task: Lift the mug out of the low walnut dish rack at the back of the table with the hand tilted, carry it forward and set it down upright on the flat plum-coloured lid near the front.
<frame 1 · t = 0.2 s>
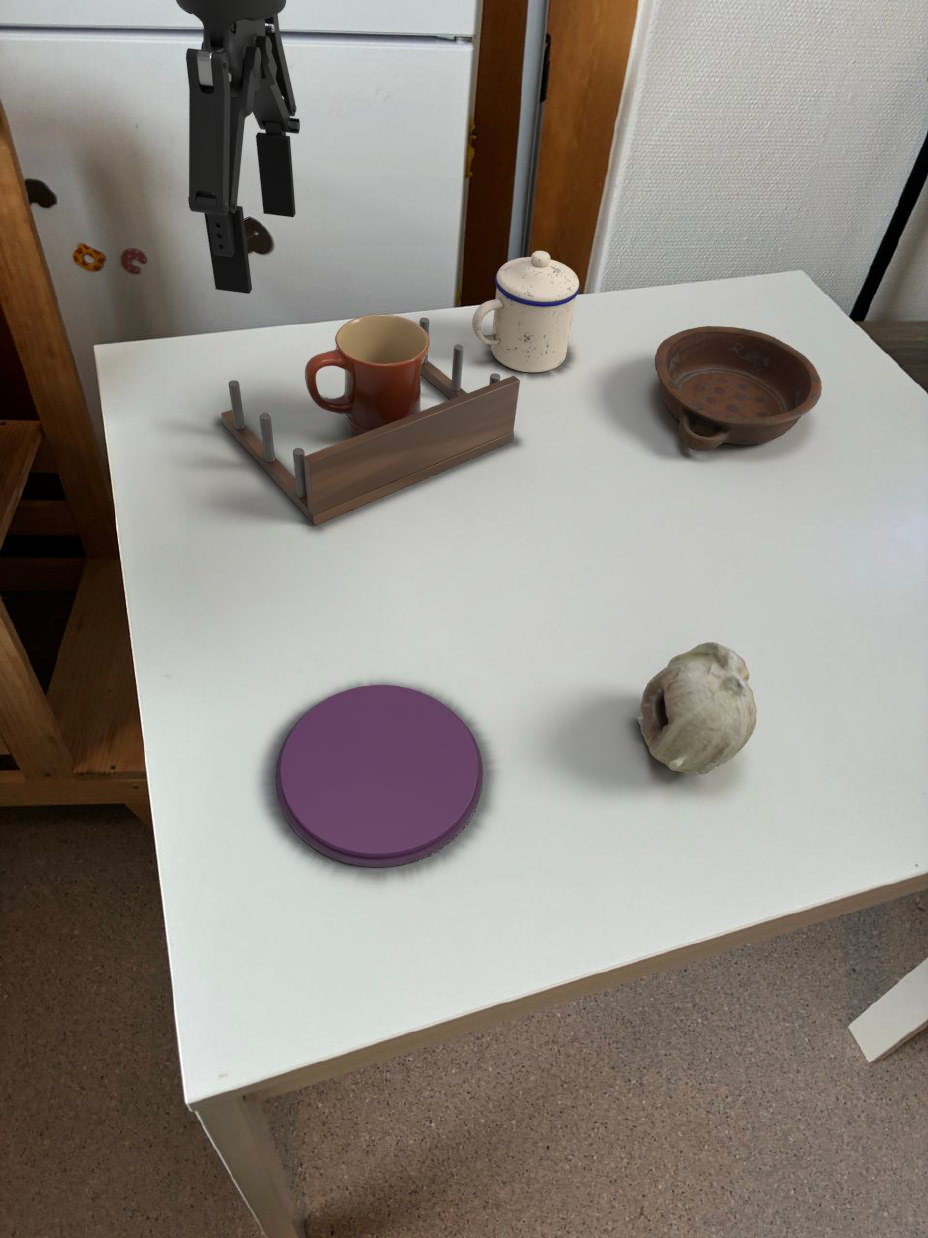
hand: (258, 249, 75), 19 cm above the table, tool pointing down, fingers open, 13 cm apart
mug: (368, 433, 91), on the table
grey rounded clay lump: (681, 747, 68), on the table
dish rack: (368, 431, 91), on the table
plum lid: (380, 772, 65), on the table
teacup with lid: (516, 356, 102), on the table
dish: (724, 410, 98), on the table
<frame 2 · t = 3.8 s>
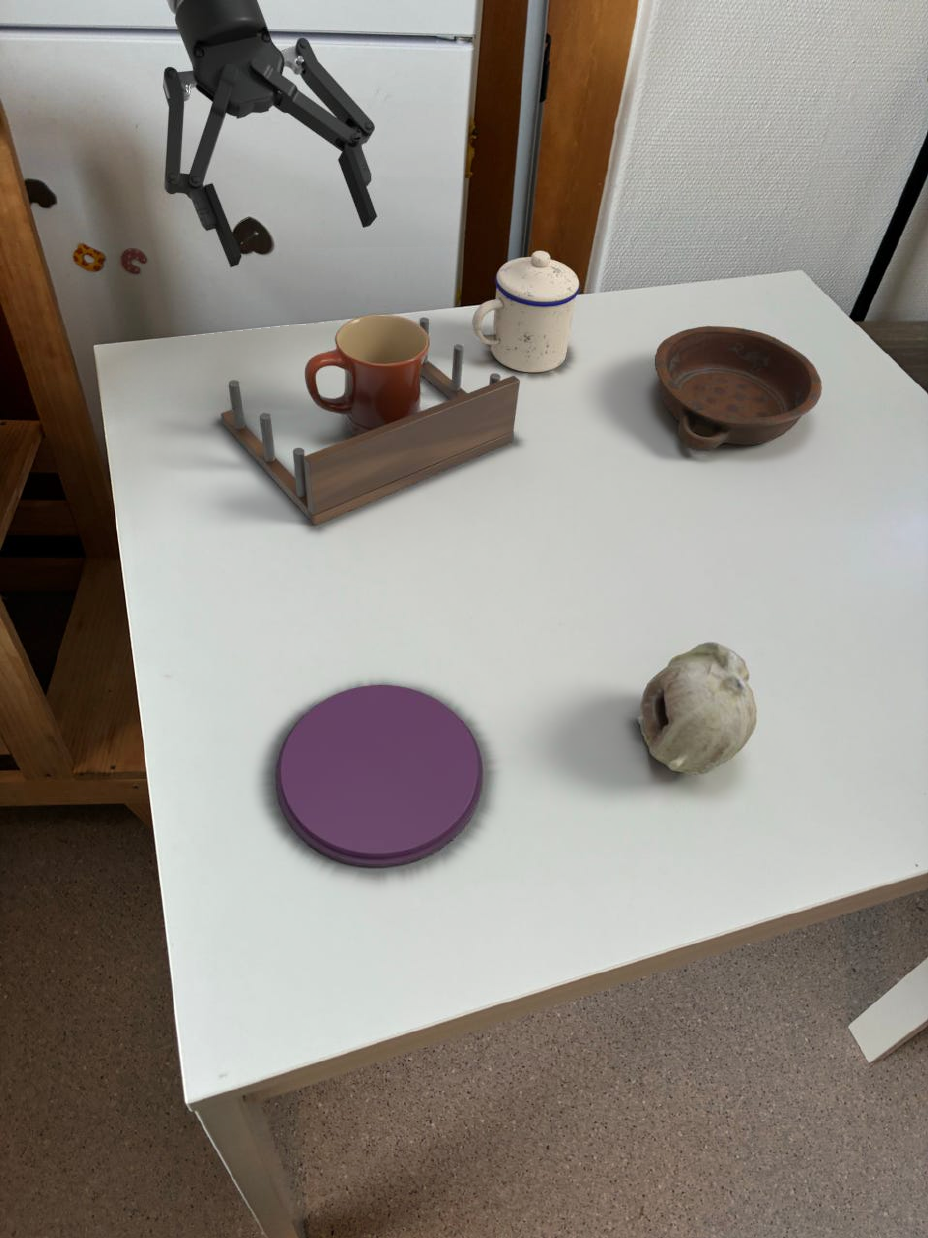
hand: (304, 241, 84), 16 cm above the table, tool tilted 45°, fingers open, 13 cm apart
nothing on the table moved.
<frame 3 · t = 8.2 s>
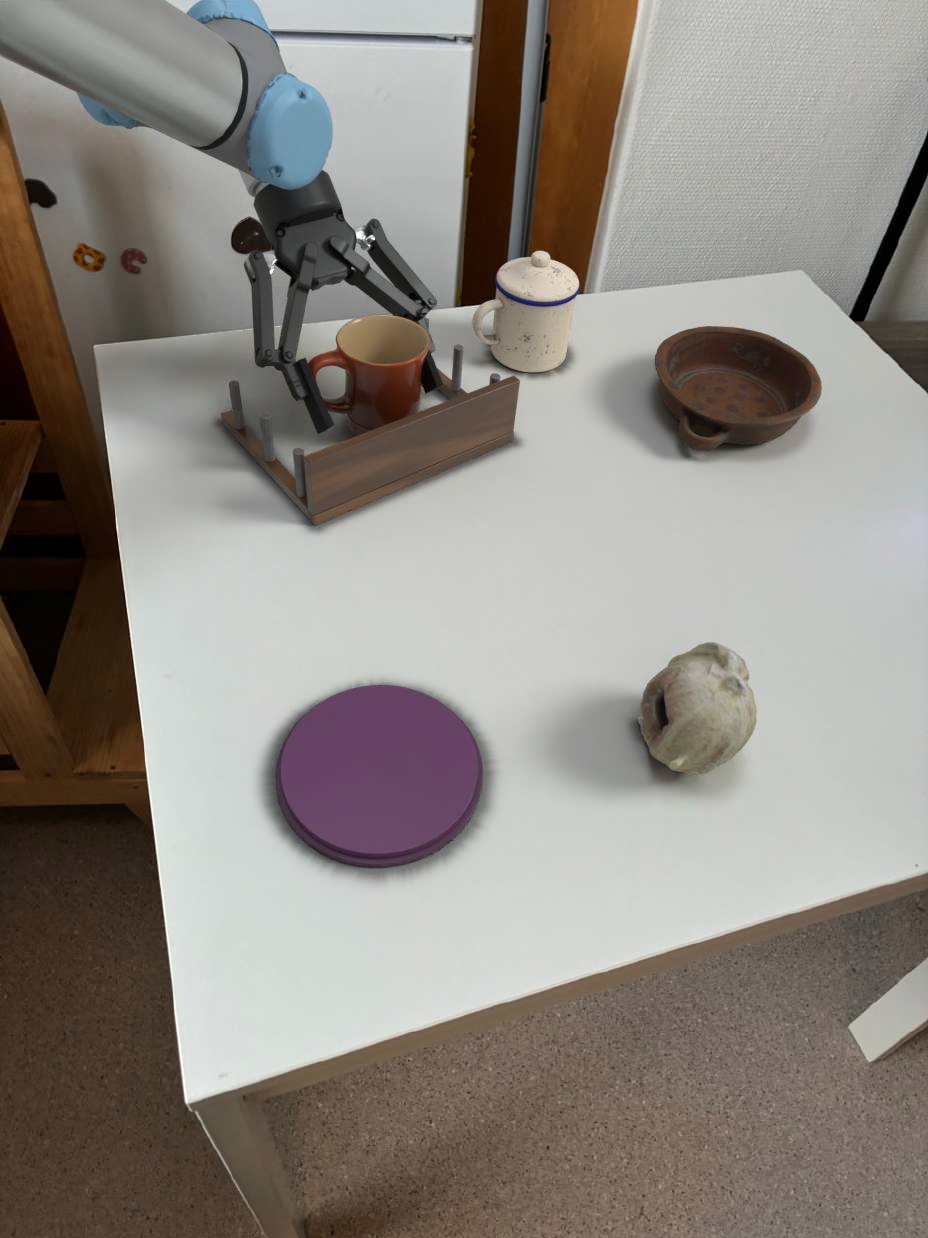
hand: (382, 409, 87), 4 cm above the table, tool tilted 45°, fingers closed on mug, 12 cm apart
mug: (368, 433, 91), on the table, touching gripper
everything else where it was.
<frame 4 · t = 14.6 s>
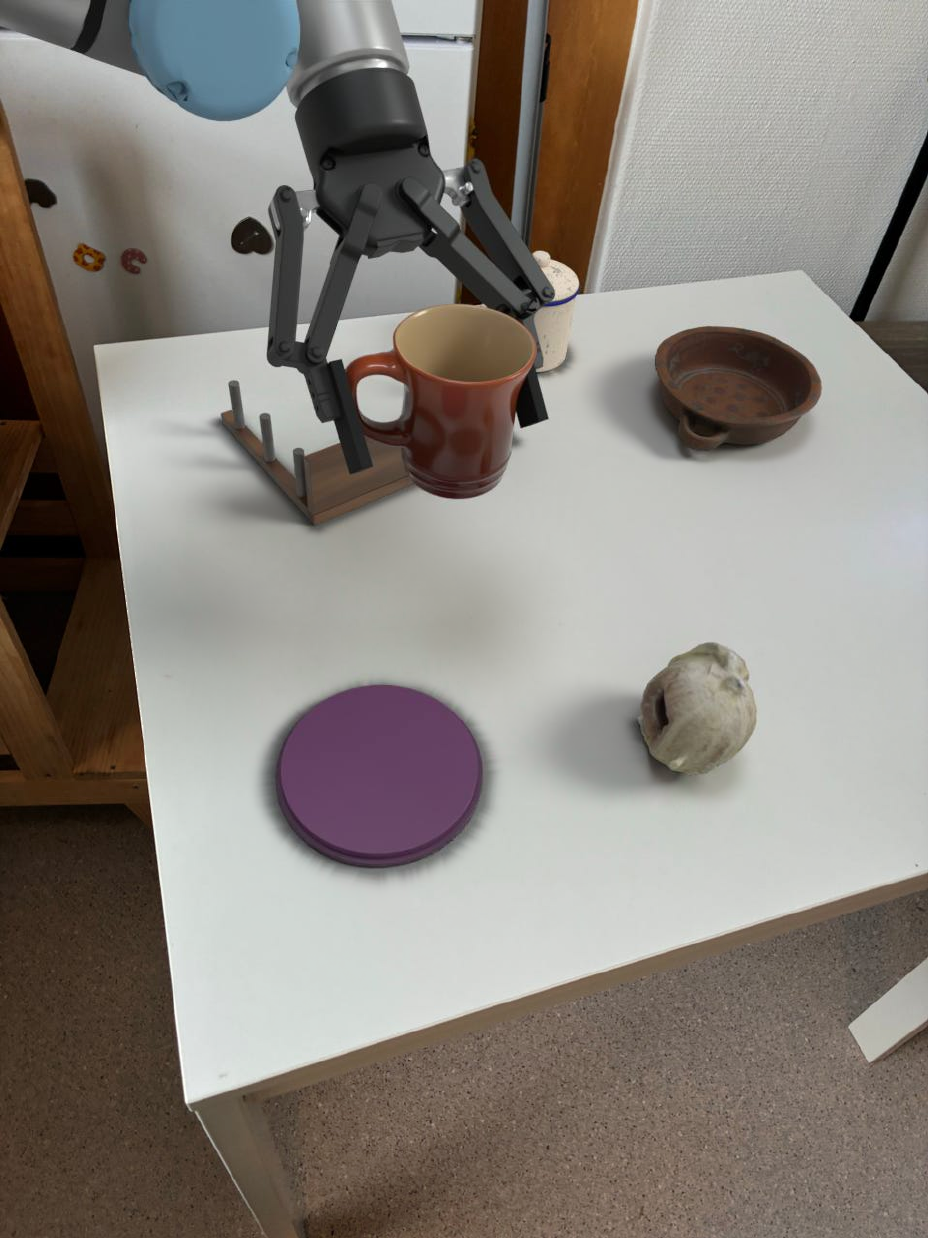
hand: (451, 446, 57), 21 cm above the table, tool tilted 45°, fingers closed on mug, 12 cm apart
mug: (430, 476, 62), point 16 cm above the table, touching gripper
everything else where it was.
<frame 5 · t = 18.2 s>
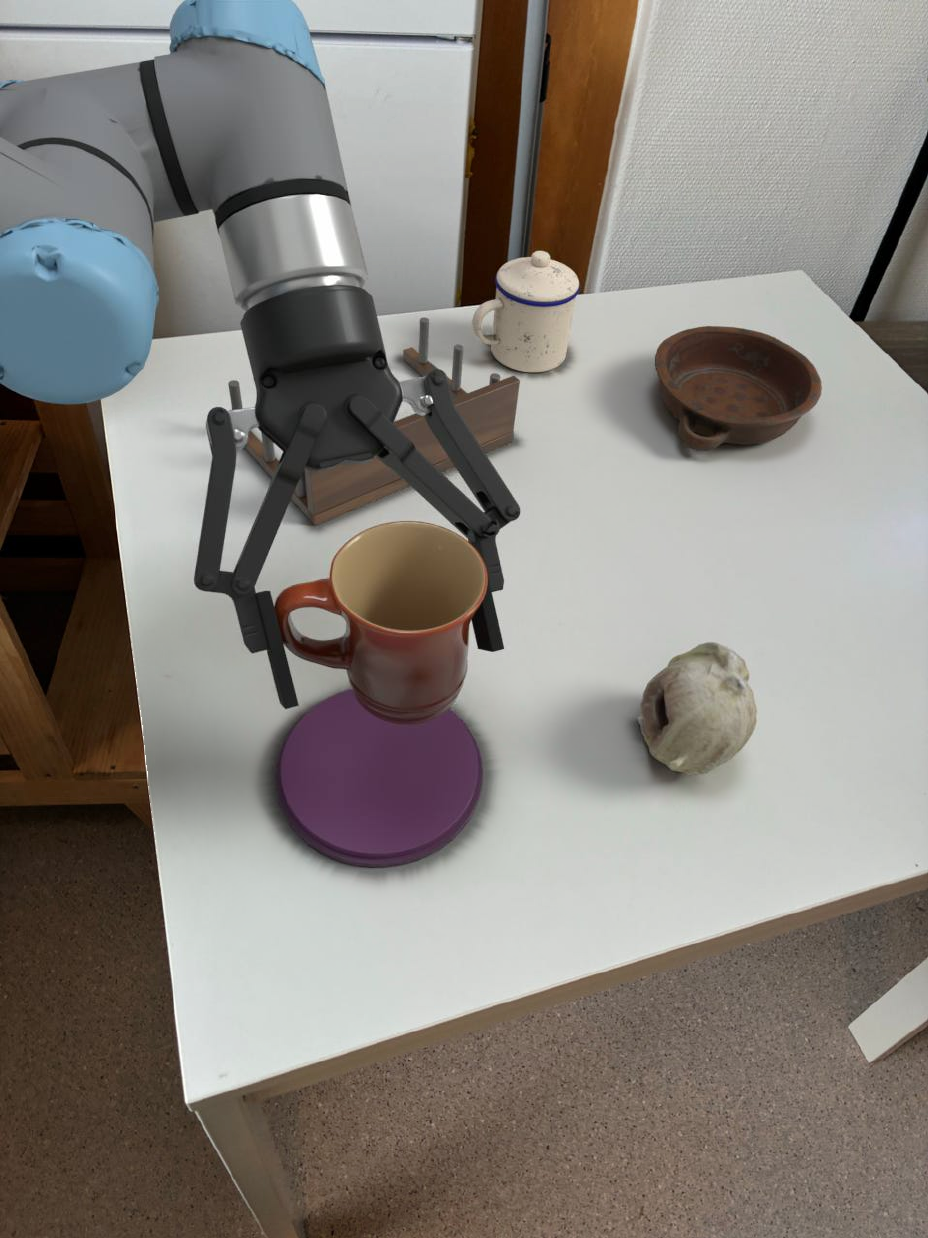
hand: (393, 676, 53), 14 cm above the table, tool tilted 45°, fingers closed on mug, 12 cm apart
mug: (381, 689, 58), point 10 cm above the table, touching gripper
everything else where it was.
when the fingers open (6 cm above the table, at t = 21.3 s): mug stays where it is, resting on plum lid.
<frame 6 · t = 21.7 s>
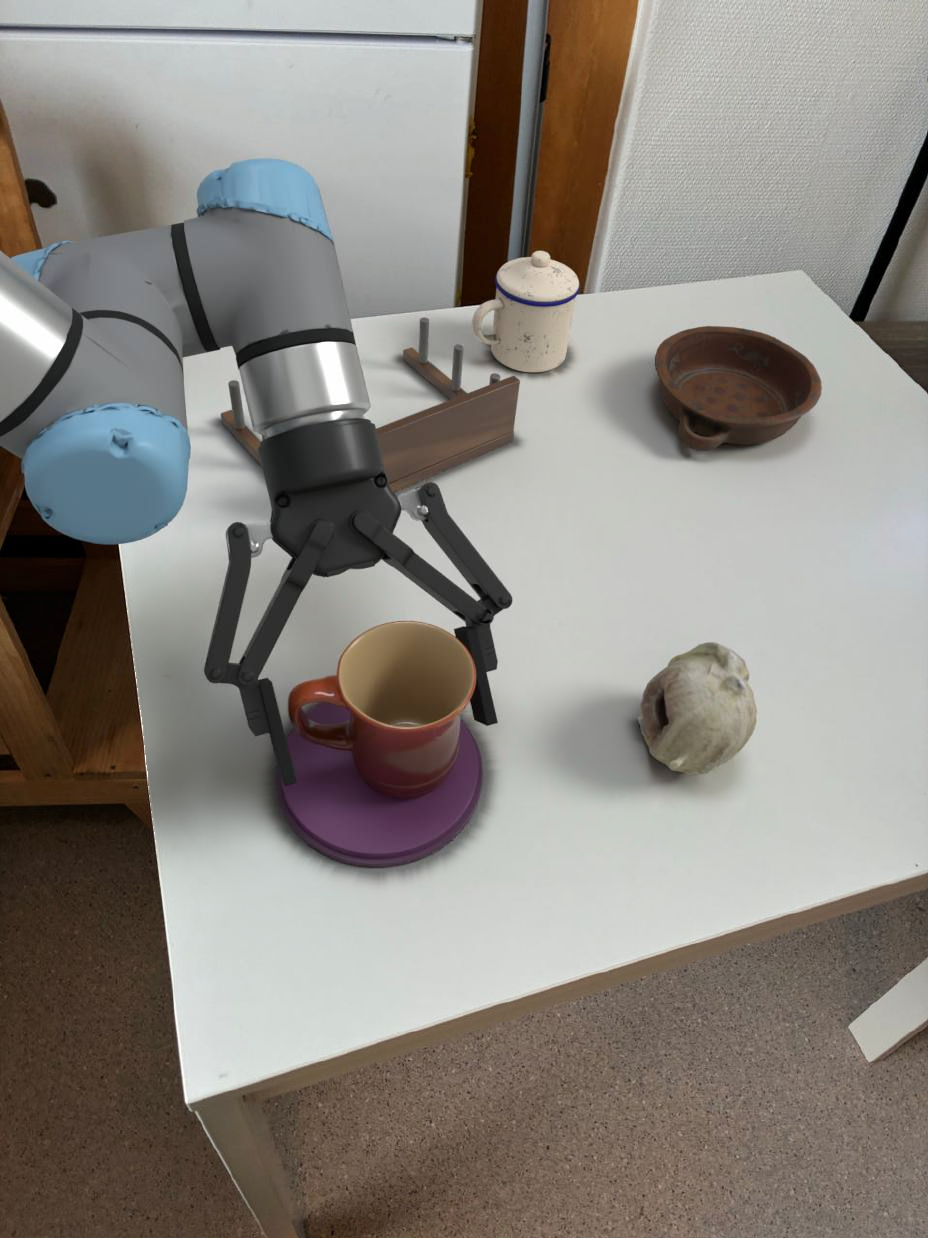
hand: (390, 750, 59), 6 cm above the table, tool tilted 45°, fingers open, 13 cm apart
mug: (381, 764, 64), point 1 cm above the table, touching plum lid
everything else where it was.
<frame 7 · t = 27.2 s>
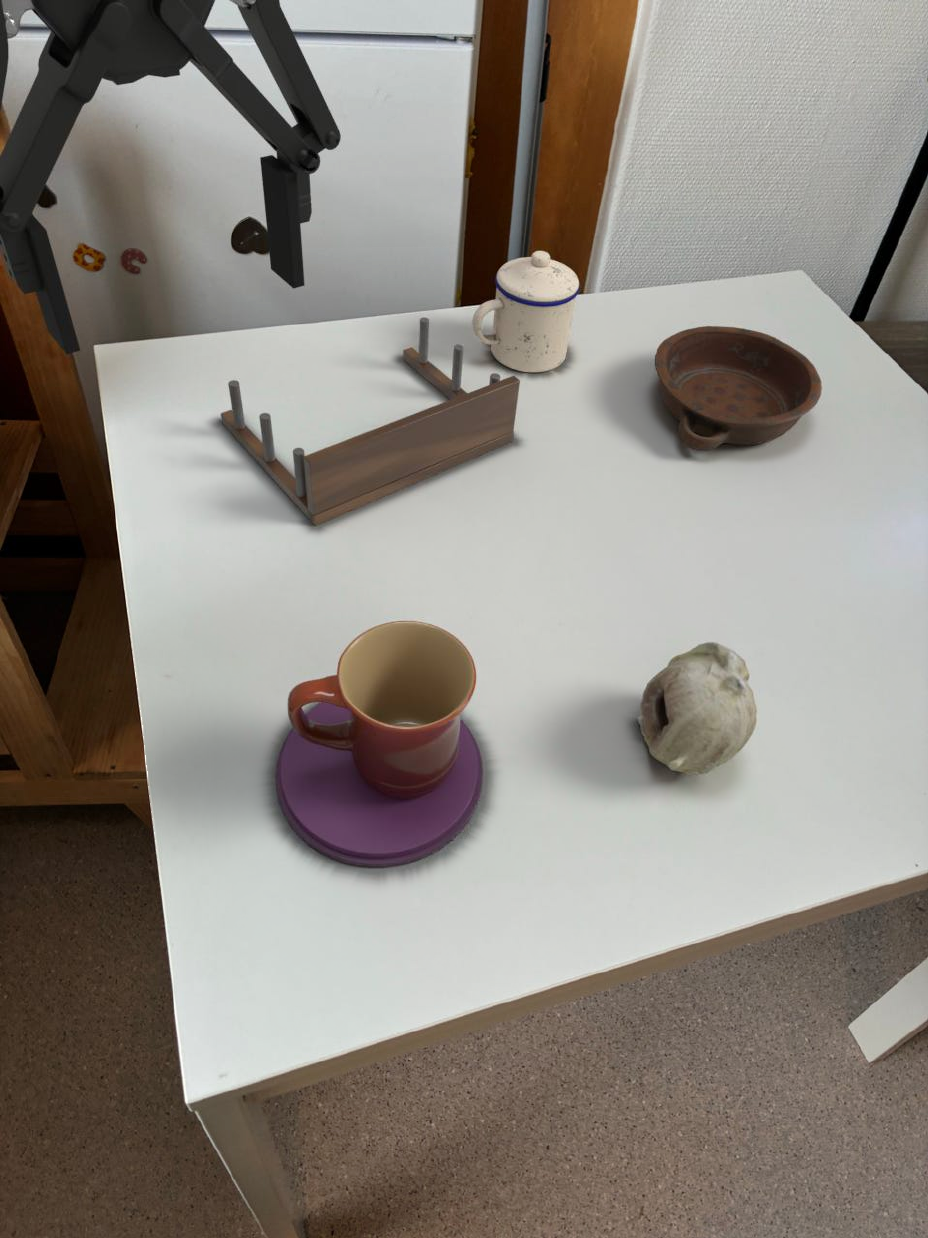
hand: (182, 307, 51), 29 cm above the table, tool pointing down, fingers open, 13 cm apart
nothing on the table moved.
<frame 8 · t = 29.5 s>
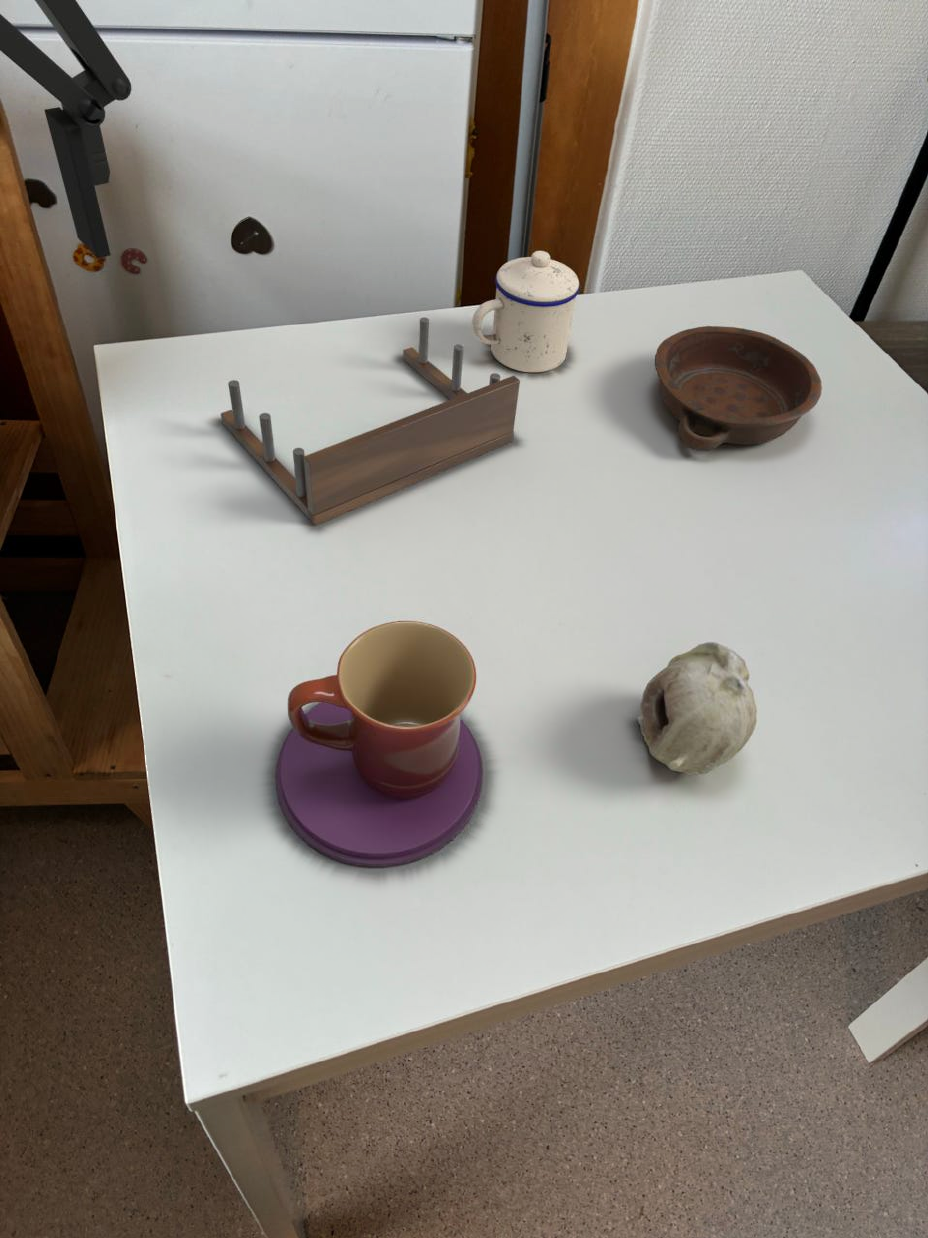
nothing on the table moved.
at the end: mug inside the target area on the plum lid (0.1 cm from its centre), point 1.0 cm above the plum lid's base; mug tilted 0°; the gripper is holding nothing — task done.
